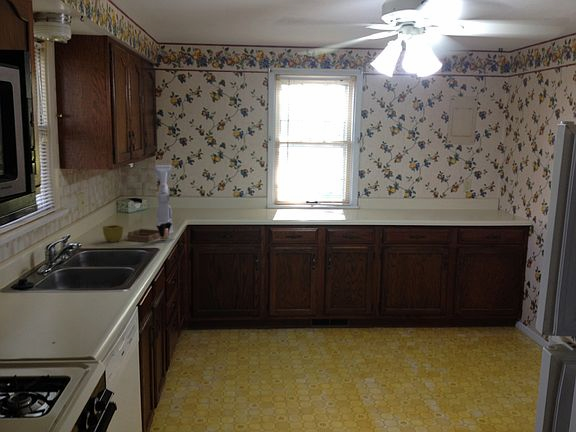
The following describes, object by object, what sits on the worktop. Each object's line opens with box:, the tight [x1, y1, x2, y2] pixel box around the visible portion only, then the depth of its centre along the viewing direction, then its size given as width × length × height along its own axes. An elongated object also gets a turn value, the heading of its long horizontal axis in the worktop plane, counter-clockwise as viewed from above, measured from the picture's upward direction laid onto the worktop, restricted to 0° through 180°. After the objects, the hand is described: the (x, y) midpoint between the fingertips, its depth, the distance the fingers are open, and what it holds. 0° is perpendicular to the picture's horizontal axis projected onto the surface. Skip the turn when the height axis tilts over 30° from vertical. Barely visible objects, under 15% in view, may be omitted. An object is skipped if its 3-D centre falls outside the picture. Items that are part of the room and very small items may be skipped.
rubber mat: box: [153, 237, 176, 244], centre depth 342 cm, size 12×8×1 cm, turn 162°
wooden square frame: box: [126, 228, 160, 243], centre depth 346 cm, size 14×14×4 cm
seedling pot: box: [159, 228, 170, 240], centre depth 341 cm, size 5×5×6 cm
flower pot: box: [102, 224, 124, 243], centre depth 337 cm, size 9×9×9 cm
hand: (164, 235), depth 341 cm, fingers closed on seedling pot, 5 cm apart
